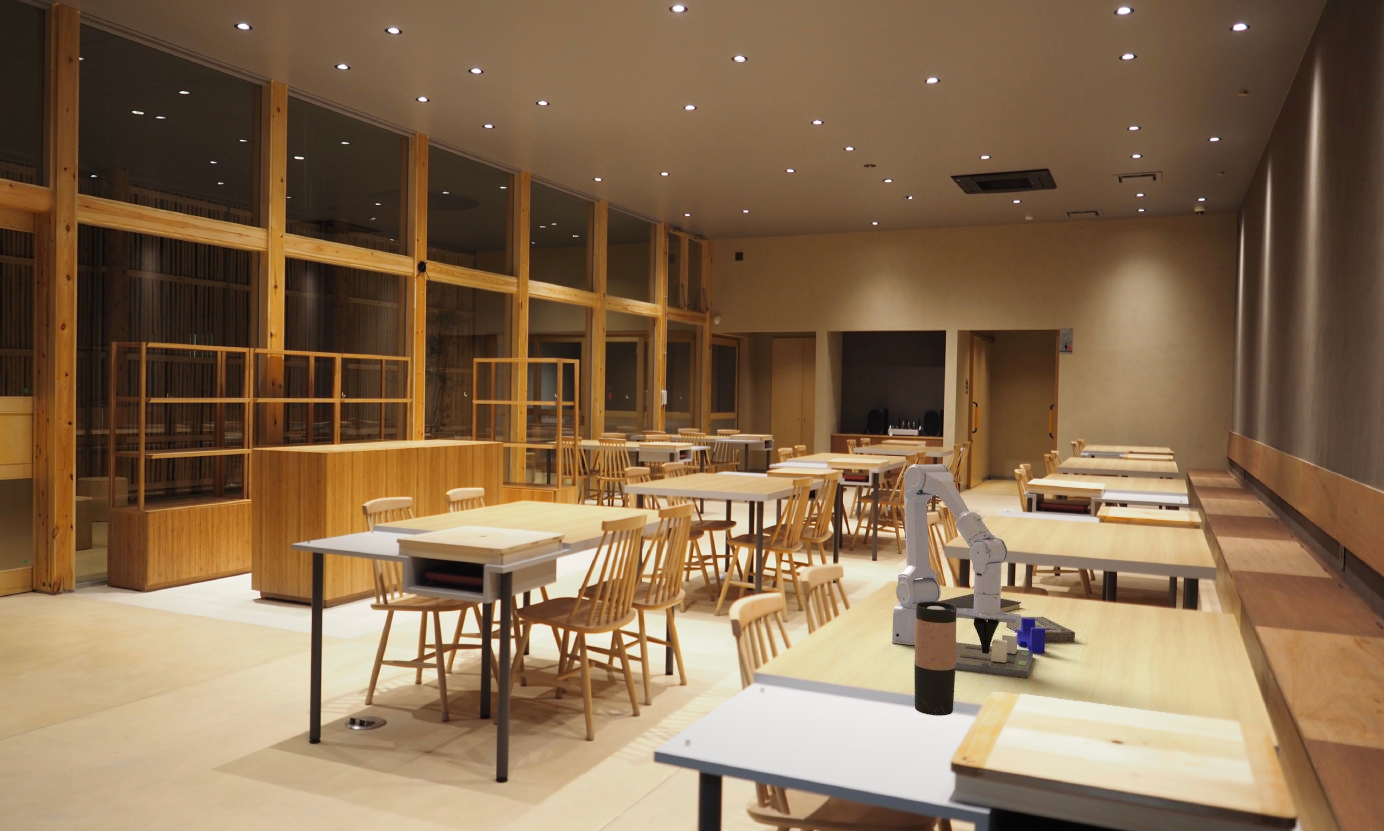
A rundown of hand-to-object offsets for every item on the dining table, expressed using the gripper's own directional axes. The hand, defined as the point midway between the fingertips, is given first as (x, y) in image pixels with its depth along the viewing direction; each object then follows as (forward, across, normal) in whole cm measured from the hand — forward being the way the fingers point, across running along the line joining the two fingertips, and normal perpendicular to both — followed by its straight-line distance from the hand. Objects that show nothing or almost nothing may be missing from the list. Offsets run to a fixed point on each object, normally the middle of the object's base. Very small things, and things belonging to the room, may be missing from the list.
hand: (985, 652), depth 218 cm
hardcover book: (+4, -10, +63) cm, 64 cm away
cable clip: (+3, +8, +22) cm, 24 cm away
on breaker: (+1, +4, +9) cm, 10 cm away
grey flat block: (+4, +9, +38) cm, 39 cm away
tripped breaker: (+1, +3, 0) cm, 3 cm away
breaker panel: (+3, 0, +3) cm, 4 cm away
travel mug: (+3, -6, -38) cm, 38 cm away
